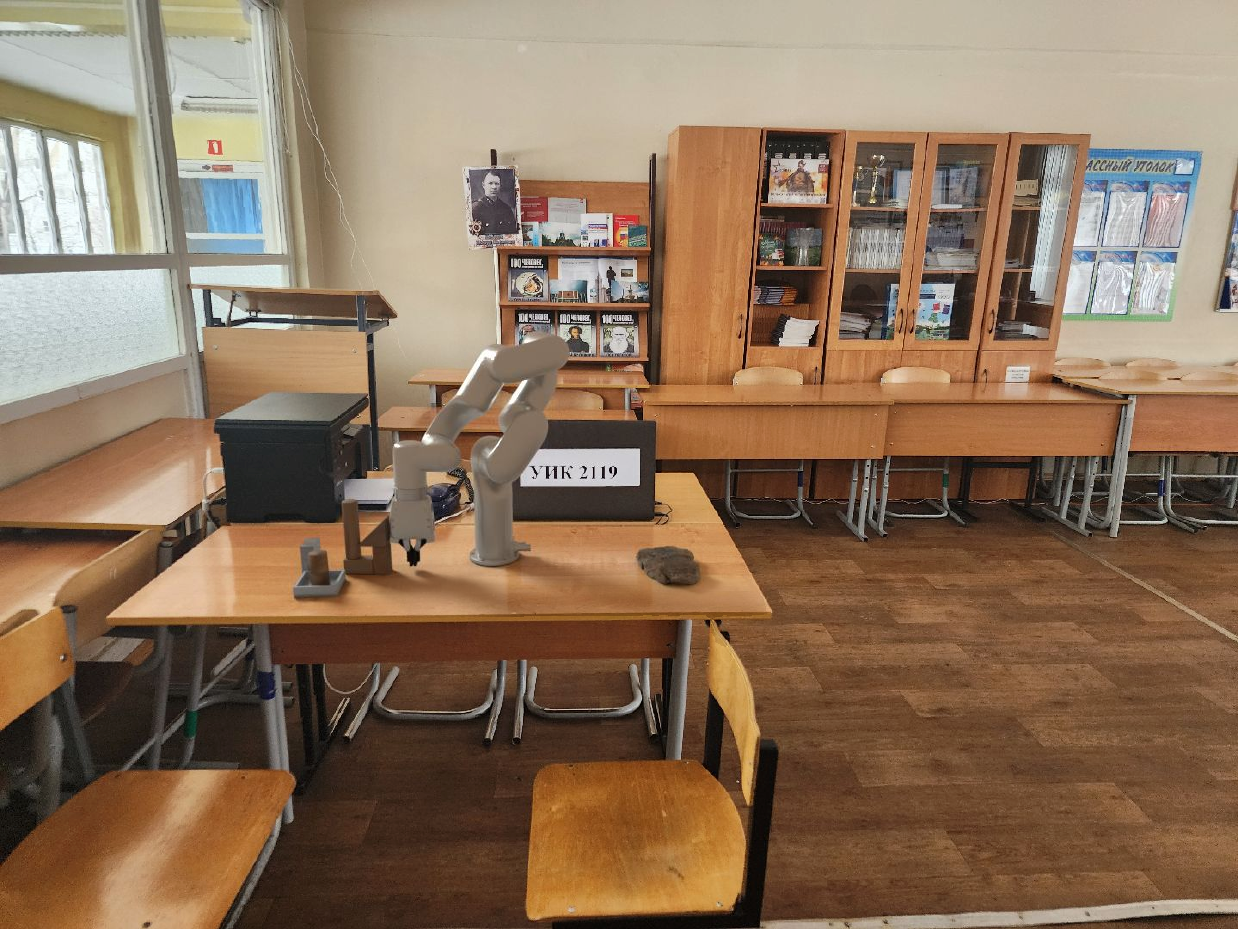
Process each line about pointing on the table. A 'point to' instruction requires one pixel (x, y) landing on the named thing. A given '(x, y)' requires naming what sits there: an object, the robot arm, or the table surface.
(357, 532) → the wooden blocks
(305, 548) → the rectangular block
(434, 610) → the table surface
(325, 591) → the tray
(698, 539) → the table surface
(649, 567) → the grey rock
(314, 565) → the dowel
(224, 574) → the table surface
